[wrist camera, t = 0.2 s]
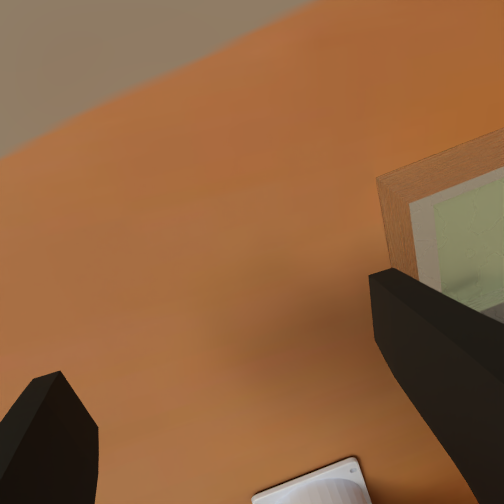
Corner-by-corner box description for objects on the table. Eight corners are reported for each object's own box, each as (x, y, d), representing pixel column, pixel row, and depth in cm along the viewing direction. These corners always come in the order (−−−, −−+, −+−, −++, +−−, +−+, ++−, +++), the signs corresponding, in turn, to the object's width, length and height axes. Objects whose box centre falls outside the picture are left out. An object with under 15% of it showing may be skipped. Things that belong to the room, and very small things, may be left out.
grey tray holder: (526, 347, 28) (563, 381, 26) (413, 391, 28) (439, 430, 26) (537, 114, 20) (594, 131, 17) (376, 177, 20) (408, 203, 17)
